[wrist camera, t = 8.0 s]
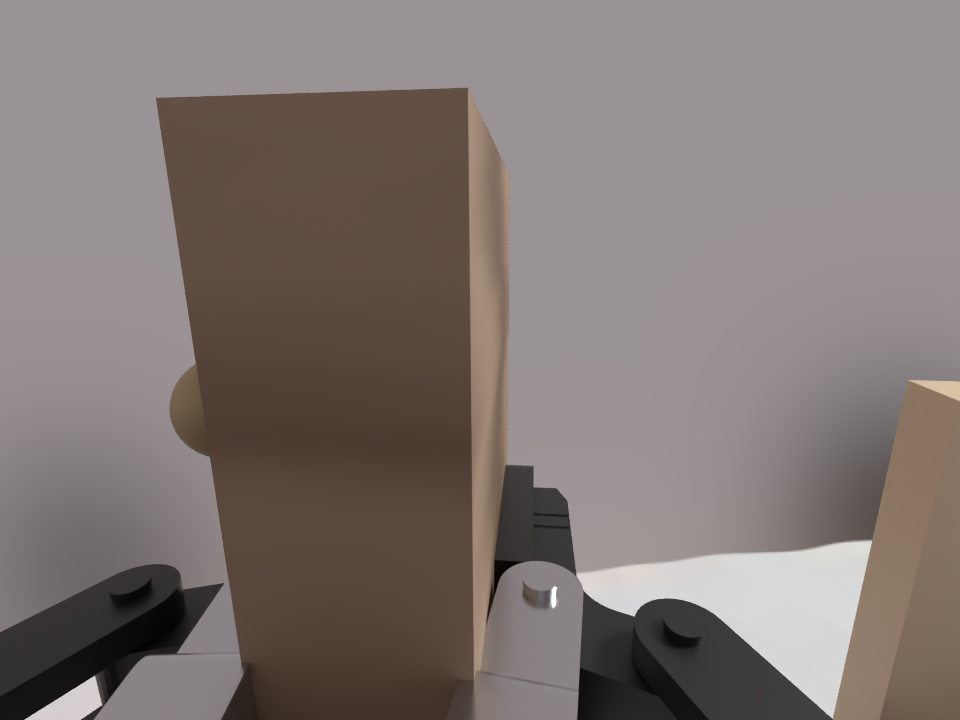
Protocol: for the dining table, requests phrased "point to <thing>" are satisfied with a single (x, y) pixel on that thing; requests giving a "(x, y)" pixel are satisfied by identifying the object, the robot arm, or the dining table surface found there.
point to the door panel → (347, 384)
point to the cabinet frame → (912, 574)
